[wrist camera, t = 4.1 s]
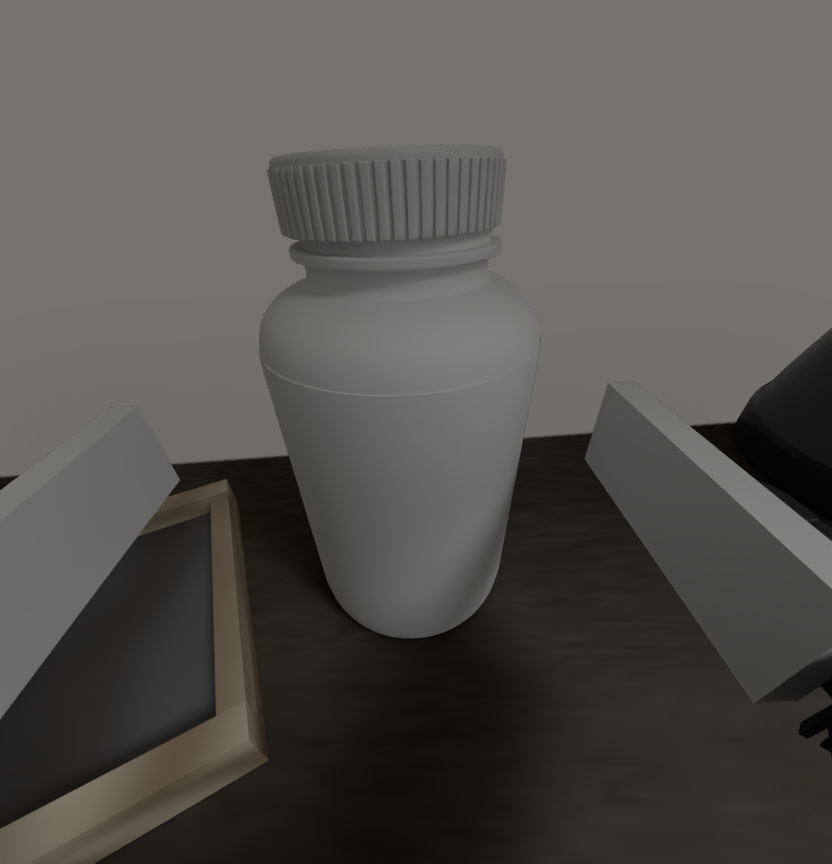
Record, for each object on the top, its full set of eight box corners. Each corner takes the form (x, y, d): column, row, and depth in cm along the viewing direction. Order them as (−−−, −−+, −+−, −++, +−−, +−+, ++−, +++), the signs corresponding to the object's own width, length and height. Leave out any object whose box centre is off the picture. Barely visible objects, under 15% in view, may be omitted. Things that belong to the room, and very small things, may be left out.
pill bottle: (340, 680, 12) (132, 123, 4) (320, 517, 19) (223, 166, 10) (534, 609, 14) (682, 127, 6) (456, 482, 21) (471, 162, 12)
